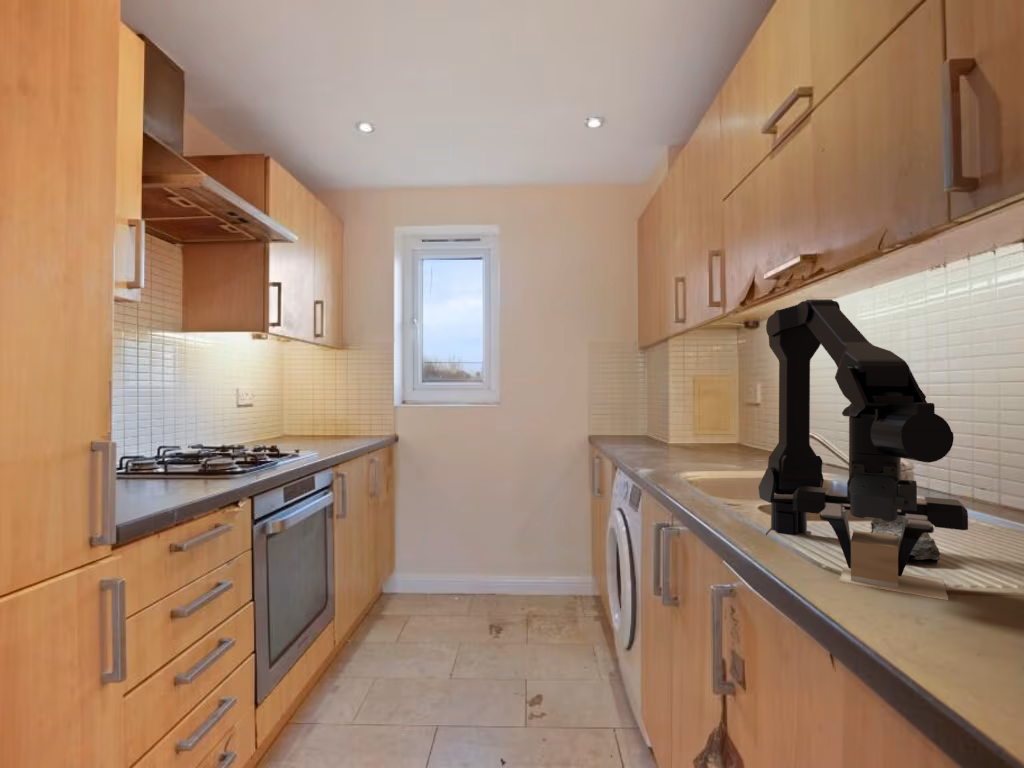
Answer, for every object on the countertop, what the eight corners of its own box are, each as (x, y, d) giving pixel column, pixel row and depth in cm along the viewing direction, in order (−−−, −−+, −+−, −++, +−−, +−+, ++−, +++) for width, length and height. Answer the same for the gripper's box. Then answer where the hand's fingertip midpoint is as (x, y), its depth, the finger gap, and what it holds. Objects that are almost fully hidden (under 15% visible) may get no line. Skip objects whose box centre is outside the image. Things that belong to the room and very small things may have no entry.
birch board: (844, 572, 79) (844, 563, 79) (942, 587, 73) (942, 578, 73) (839, 590, 71) (839, 581, 71) (948, 610, 65) (948, 599, 65)
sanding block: (853, 566, 77) (853, 530, 77) (897, 573, 75) (897, 535, 75) (850, 580, 72) (850, 541, 72) (898, 588, 69) (898, 547, 69)
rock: (945, 577, 77) (944, 530, 77) (872, 571, 80) (870, 525, 80) (916, 552, 89) (915, 511, 89) (854, 547, 92) (852, 508, 92)
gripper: (786, 453, 72) (786, 575, 72) (973, 465, 61) (974, 607, 61) (798, 446, 81) (798, 554, 81) (962, 455, 71) (962, 579, 70)
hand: (874, 571), depth 73 cm, fingers closed on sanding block, 5 cm apart
